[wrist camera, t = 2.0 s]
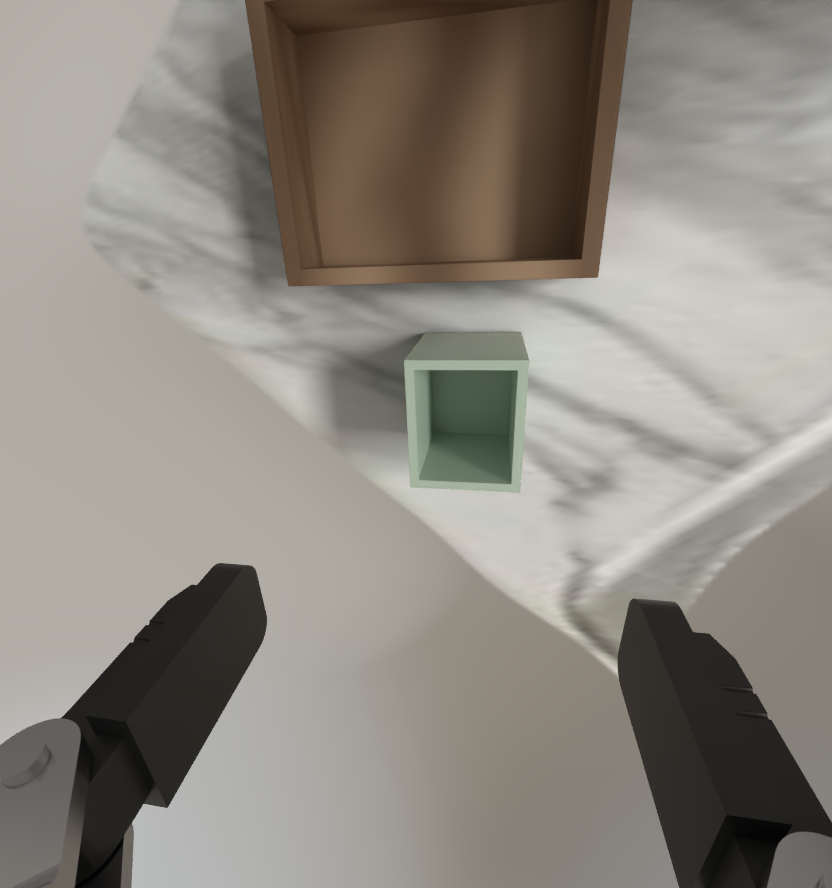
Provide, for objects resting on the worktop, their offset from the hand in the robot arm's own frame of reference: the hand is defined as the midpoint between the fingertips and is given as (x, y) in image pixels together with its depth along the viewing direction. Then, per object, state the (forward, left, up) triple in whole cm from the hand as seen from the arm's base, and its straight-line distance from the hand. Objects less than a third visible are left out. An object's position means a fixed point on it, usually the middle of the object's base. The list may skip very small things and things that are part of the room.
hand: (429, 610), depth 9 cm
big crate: (+1, -11, -16) cm, 20 cm away
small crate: (0, 0, -16) cm, 16 cm away
